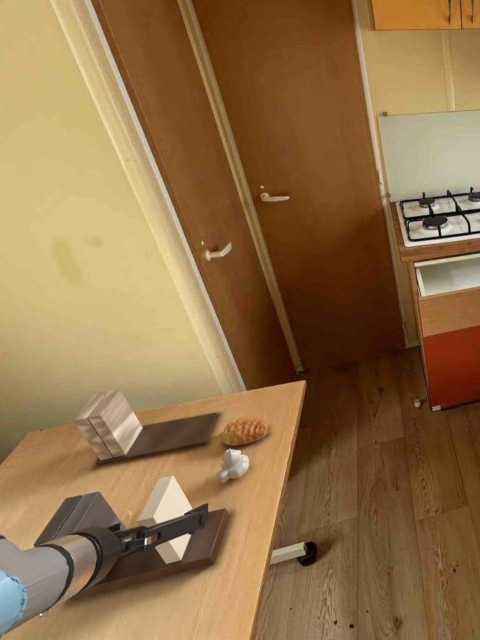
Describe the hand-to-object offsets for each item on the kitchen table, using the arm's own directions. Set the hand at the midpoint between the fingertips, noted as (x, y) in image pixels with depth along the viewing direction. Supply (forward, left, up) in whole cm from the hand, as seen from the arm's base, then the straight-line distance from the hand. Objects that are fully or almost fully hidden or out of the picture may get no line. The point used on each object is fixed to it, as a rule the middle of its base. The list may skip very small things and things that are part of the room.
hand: (162, 521), depth 75 cm
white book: (0, +2, -8) cm, 8 cm away
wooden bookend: (-21, +28, -11) cm, 37 cm away
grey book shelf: (-5, +1, -11) cm, 12 cm away
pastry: (-1, +28, -11) cm, 30 cm away
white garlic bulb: (+2, +17, -11) cm, 20 cm away
